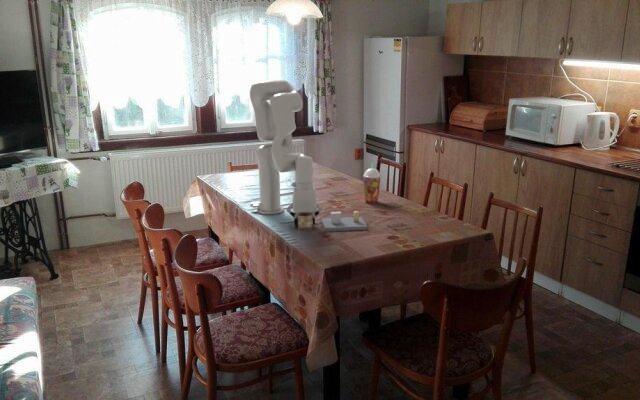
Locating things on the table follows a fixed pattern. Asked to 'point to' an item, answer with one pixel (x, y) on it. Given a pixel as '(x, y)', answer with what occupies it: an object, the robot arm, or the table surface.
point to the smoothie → (371, 185)
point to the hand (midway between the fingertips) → (304, 225)
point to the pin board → (343, 222)
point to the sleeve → (305, 221)
